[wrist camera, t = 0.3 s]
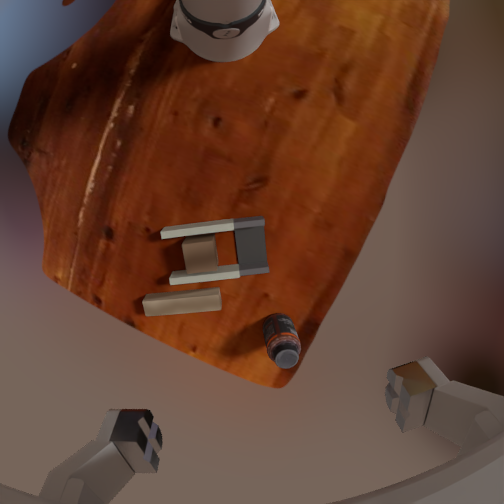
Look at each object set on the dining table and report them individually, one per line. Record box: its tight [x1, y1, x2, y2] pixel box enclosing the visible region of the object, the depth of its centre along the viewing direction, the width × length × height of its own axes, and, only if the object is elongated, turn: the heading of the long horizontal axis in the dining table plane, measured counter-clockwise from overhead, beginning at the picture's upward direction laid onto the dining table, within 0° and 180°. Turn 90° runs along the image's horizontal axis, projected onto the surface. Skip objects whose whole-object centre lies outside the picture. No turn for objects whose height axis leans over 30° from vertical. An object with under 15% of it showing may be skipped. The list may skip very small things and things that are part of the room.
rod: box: [142, 287, 222, 316], centre depth 57 cm, size 3×14×4 cm, turn 96°
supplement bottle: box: [263, 313, 301, 368], centre depth 56 cm, size 6×6×11 cm
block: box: [182, 233, 218, 274], centre depth 53 cm, size 5×5×5 cm
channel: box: [160, 216, 269, 285], centre depth 54 cm, size 9×17×4 cm, turn 96°
